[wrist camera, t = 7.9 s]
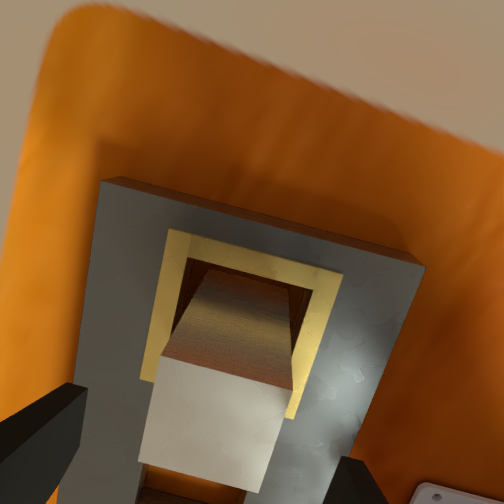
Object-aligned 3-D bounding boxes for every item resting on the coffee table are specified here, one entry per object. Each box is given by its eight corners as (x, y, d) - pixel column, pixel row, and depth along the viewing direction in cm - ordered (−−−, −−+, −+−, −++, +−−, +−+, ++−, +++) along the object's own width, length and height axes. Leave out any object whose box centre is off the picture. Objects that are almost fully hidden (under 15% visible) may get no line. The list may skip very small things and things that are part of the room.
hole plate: (410, 253, 18) (427, 268, 16) (292, 554, 24) (293, 594, 22) (119, 176, 18) (99, 180, 16) (71, 496, 24) (51, 530, 21)
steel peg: (288, 289, 19) (293, 390, 11) (266, 358, 20) (258, 493, 12) (209, 268, 19) (160, 355, 11) (192, 338, 20) (137, 461, 12)
